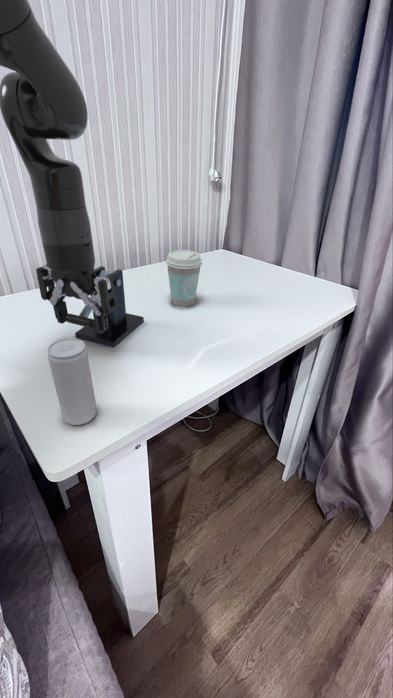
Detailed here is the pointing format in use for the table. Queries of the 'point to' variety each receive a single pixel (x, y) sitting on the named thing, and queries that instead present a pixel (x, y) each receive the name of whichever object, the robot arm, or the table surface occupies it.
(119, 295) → the bracket
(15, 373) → the table surface
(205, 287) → the table surface
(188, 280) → the coffee cup
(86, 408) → the beverage can
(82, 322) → the lever
